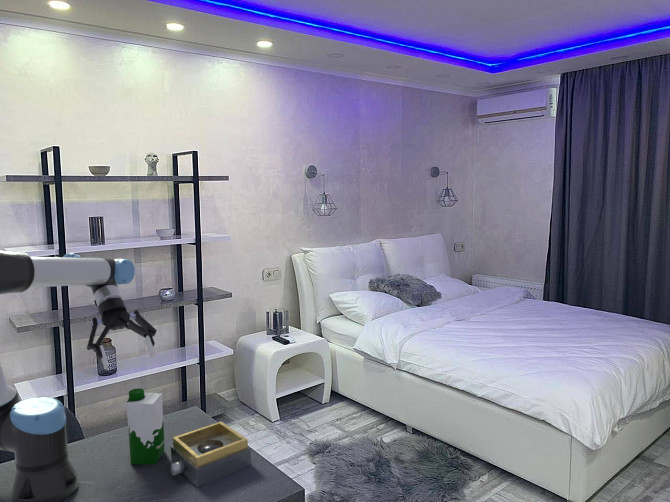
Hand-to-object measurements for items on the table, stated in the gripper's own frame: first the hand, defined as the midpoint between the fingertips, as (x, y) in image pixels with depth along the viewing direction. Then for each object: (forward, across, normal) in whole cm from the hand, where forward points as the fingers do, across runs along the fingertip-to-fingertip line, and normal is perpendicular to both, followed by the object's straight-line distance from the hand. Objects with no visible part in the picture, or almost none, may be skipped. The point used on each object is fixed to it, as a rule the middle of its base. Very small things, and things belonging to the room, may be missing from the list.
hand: (130, 361), depth 154 cm
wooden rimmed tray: (+37, -10, 0) cm, 38 cm away
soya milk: (+26, +1, -10) cm, 28 cm away
